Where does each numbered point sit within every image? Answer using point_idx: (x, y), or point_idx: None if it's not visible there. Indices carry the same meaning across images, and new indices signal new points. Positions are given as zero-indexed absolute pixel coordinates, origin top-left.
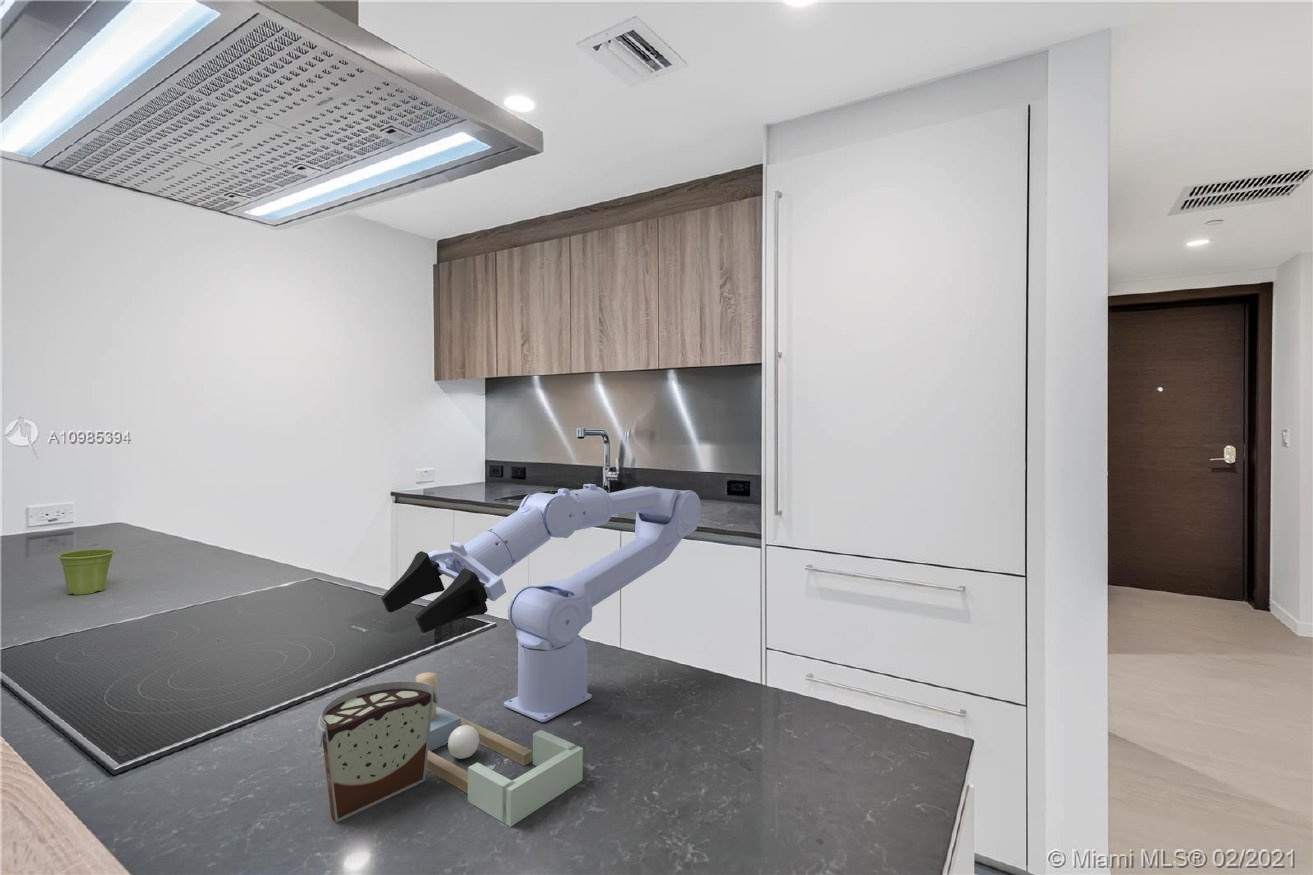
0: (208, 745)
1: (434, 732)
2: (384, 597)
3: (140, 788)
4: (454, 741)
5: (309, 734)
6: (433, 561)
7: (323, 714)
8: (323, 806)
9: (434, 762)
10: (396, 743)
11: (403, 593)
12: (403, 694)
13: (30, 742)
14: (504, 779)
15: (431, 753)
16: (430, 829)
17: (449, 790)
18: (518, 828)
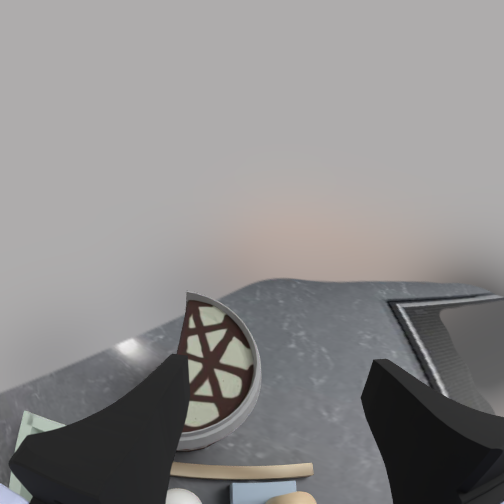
0: (403, 350)
1: (232, 497)
2: (379, 361)
3: (359, 306)
4: (174, 489)
5: None
6: (495, 501)
7: (222, 309)
8: None
9: (177, 463)
10: None
11: (389, 413)
12: (202, 409)
13: (449, 286)
14: (39, 425)
15: (200, 475)
16: (101, 395)
17: None
18: None
